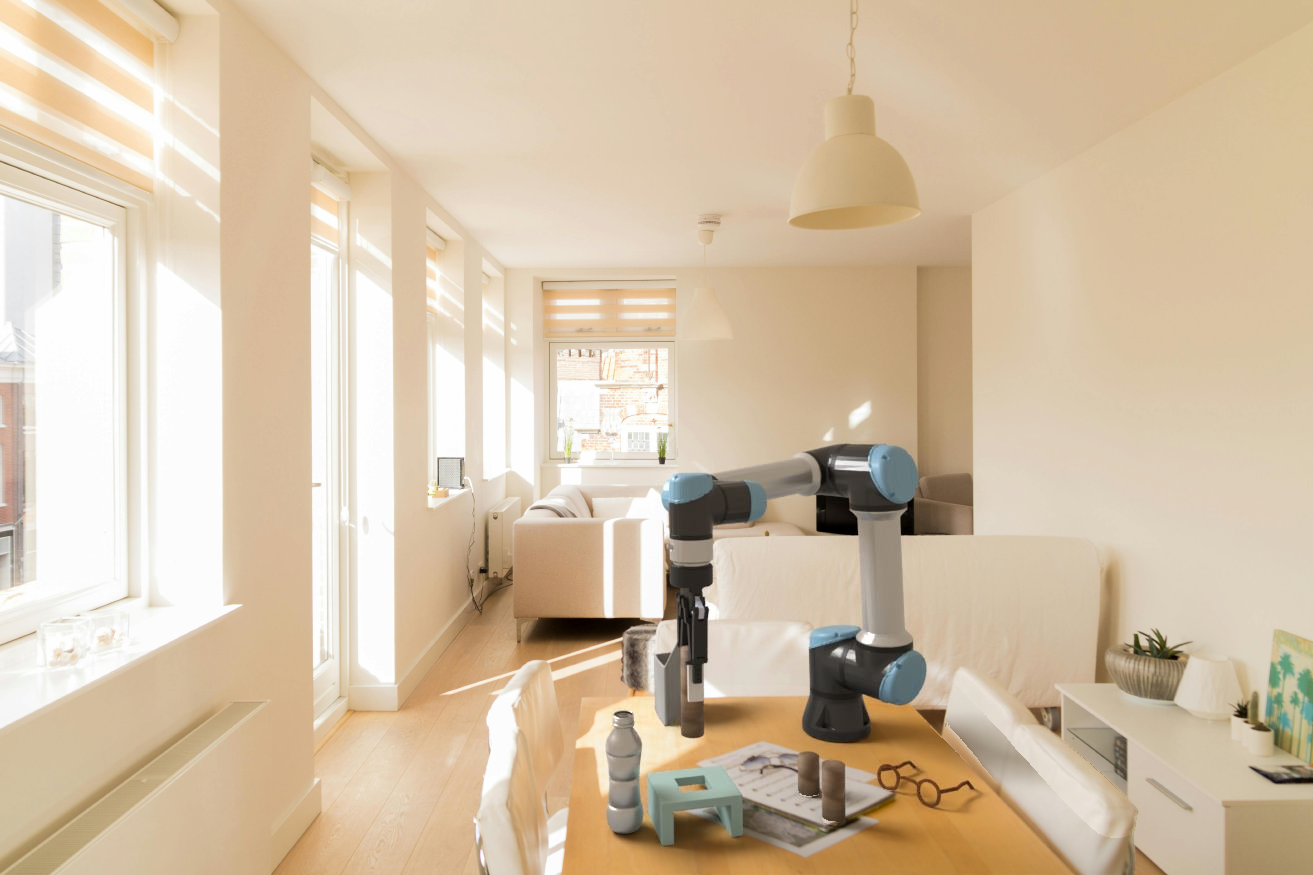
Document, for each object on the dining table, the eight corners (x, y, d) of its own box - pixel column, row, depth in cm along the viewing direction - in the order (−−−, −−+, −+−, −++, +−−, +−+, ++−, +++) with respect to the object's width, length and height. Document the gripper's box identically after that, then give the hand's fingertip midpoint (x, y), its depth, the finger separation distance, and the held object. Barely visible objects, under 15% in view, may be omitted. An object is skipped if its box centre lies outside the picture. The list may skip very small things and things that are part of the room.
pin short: (814, 786, 155) (814, 750, 155) (823, 795, 151) (822, 758, 151) (794, 788, 154) (794, 752, 154) (802, 798, 151) (802, 761, 150)
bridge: (722, 802, 149) (721, 764, 149) (742, 835, 138) (742, 794, 137) (647, 811, 146) (647, 773, 146) (662, 845, 135) (661, 804, 134)
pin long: (700, 728, 144) (700, 644, 143) (706, 736, 140) (706, 650, 140) (678, 730, 143) (678, 645, 143) (684, 739, 139) (683, 652, 139)
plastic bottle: (611, 841, 136) (609, 723, 136) (602, 822, 143) (600, 709, 142) (648, 835, 138) (646, 718, 137) (638, 816, 145) (636, 705, 144)
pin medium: (839, 813, 145) (839, 758, 144) (849, 824, 141) (849, 767, 140) (818, 816, 144) (817, 760, 143) (827, 827, 140) (827, 770, 139)
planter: (671, 698, 204) (670, 622, 204) (699, 704, 200) (698, 626, 200) (637, 720, 190) (636, 638, 190) (666, 726, 186) (665, 642, 186)
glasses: (876, 787, 155) (875, 762, 155) (914, 768, 164) (914, 743, 163) (938, 812, 145) (938, 785, 145) (975, 790, 154) (975, 764, 153)
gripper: (659, 555, 148) (660, 682, 149) (682, 572, 132) (683, 715, 132) (699, 553, 150) (700, 679, 150) (726, 570, 133) (727, 711, 134)
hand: (692, 695), depth 141 cm, fingers closed on pin long, 4 cm apart
